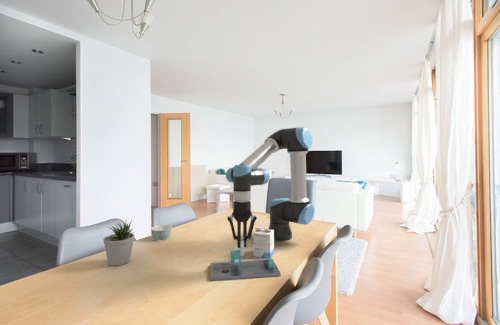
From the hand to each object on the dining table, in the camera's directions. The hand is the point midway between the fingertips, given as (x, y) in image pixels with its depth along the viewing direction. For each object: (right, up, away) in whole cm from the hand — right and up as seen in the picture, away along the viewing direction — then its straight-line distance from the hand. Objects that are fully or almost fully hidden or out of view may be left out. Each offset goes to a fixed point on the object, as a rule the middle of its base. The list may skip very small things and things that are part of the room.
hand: (241, 254), depth 108 cm
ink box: (+10, -6, +15) cm, 19 cm away
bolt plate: (+1, -6, -2) cm, 6 cm away
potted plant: (-56, -6, +5) cm, 56 cm away
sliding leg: (-2, -4, -2) cm, 5 cm away
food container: (-49, -5, +40) cm, 63 cm away
